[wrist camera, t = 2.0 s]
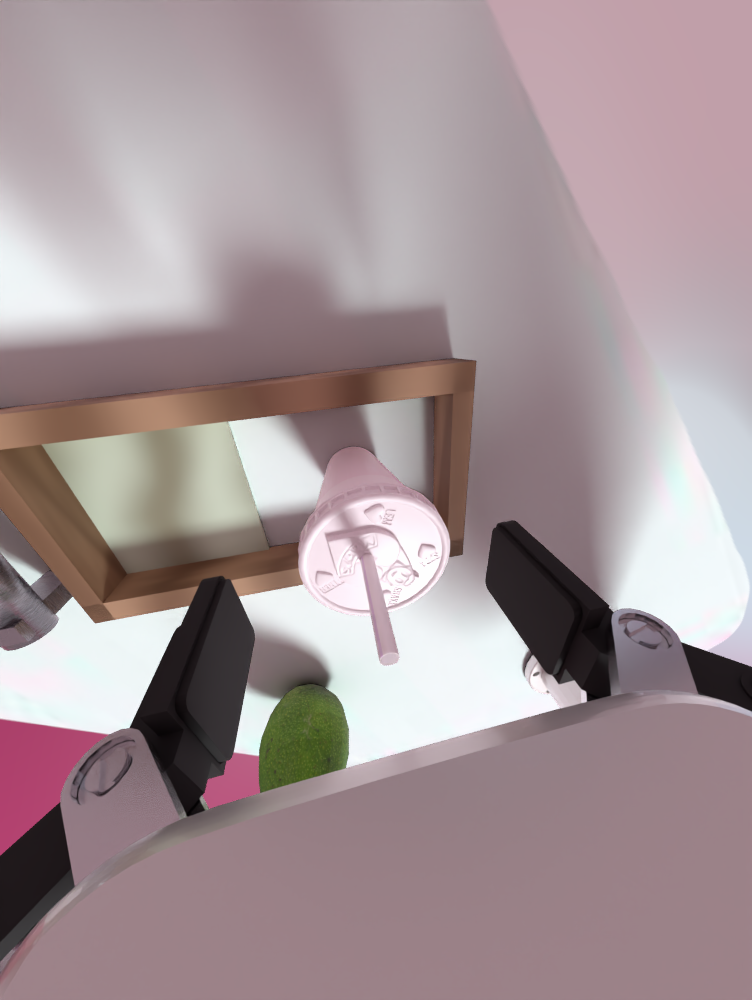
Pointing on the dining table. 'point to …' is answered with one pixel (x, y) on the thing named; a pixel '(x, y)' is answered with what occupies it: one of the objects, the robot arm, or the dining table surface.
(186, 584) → the bay
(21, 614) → the grey metal handle
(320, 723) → the avocado
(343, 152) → the dining table surface
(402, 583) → the smoothie
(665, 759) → the robot arm
